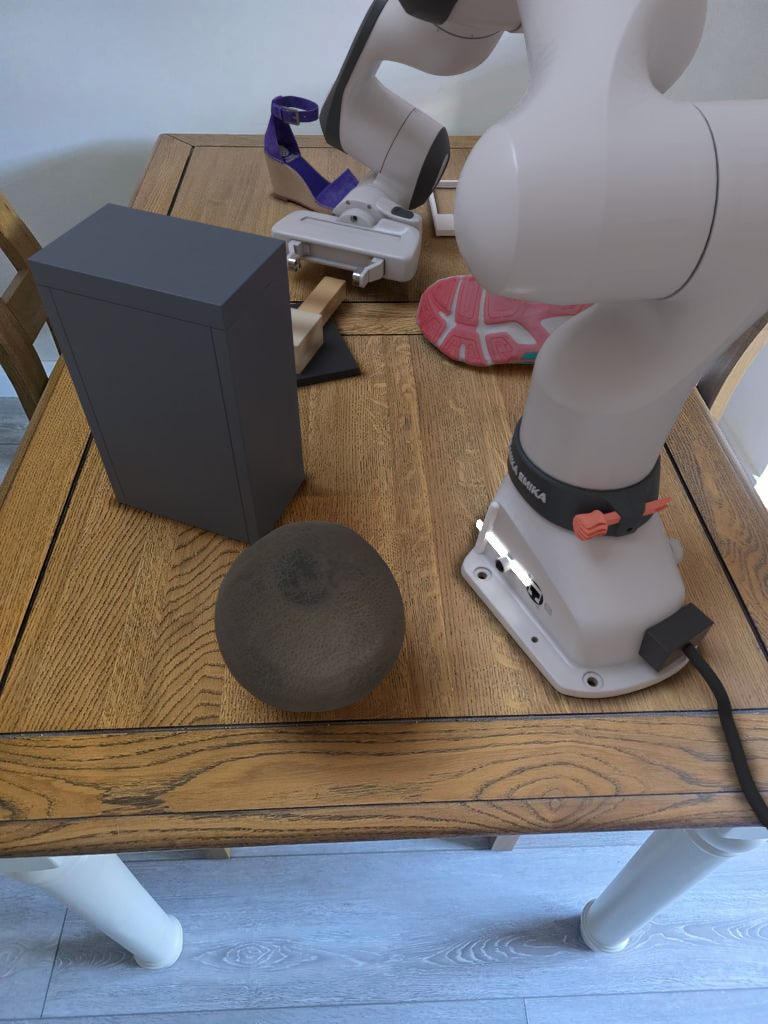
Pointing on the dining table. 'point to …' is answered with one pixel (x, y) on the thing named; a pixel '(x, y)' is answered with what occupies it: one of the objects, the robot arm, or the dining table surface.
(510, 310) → the athletic shoe
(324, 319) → the wooden mallet
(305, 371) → the shoe mat
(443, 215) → the photo frame
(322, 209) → the sandal
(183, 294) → the tall grey cabinet
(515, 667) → the dining table surface
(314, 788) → the dining table surface
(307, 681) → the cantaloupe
